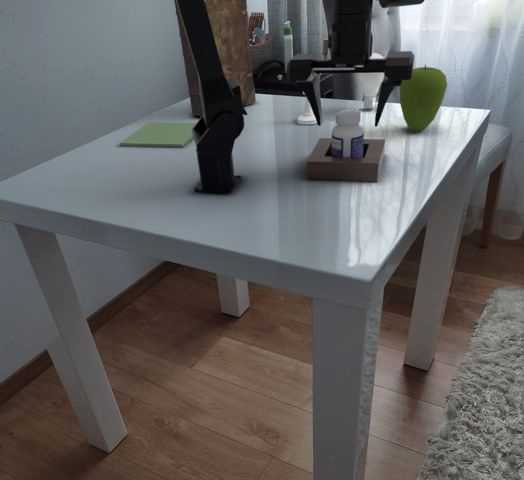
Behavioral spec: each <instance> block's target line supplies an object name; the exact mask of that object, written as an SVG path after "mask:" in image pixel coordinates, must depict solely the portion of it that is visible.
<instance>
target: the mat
mask: <svg viewBox="0 0 524 480" xmlns="http://www.w3.org/2000/svg"><path fill="white" fill-rule="evenodd" d="M196 123H197V122H153V121H152V122H147V123H146V124H144V125H143V126H142V127H140V128H139V129H137V130H136V131H134V132H133V133H132V134H130V135H129V136H127V137H126V138H124V139H123V140H122V141H120V142H119V146H121V147H153V148H157V147H158V148H184V147H185V146H186V145H187V144H188V143H189V142H190V141H191V140H192V139H194V137H193V134H192V129H193V127H194V126H195V125H196Z"/></svg>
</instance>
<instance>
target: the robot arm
mask: <svg viewBox="0 0 524 480" xmlns="http://www.w3.org/2000/svg"><path fill="white" fill-rule="evenodd" d="M375 1H378V4H379V6H380V7H381V9H389V8H390V9H391V8H398V7H399V8H400V7H408V6H417V5H421V4H423V3H424V2H425V1H426V0H375ZM176 2H177V6H178V9H179V12H180V16H181V19H182V23H183V26H184V29H185V33H186V36H187V39H188V43H189V46H190V50H191V53H192V56H193V60H194V63H195V67H196V70H197V73H198V81H199V91H200V100H201V107H202V116H200V118H199V119H198V120H197V122H195V123H196V125H195V126H194V127H193V129H192V134H193V140H194V143H195V147H196V149H195V152H196V160H197V167H198V173H199V179H200V181H199V182H198V183H197V184H196V185H195V187H194V188H193V192H195V193H211V194H232V193H233V192H234V190H235V189H236V187H237V186H238V185H239V184H240V182H241V181H242V180H243V176H242V175H237V174H236V175H235V167H234V157H233V150H234V145H235V141H236V140H237V139H238V138H239V137H240V136H241V134H242V132H243V130H244V129H245V117H244V116H248V112H247V110H246V109H245V107H244V106H243V105H242V99H241V89H240V86H239V84H238V83H237V81H236V80H235V79H234V78H231V79H230V80H228V81H227V79H226V77H225V75H224V72H223V69H222V65H221V62H220V58H219V54H218V50H217V46H216V43H215V39H214V35H213V31H212V28H211V24H210V20H209V16H208V12H207V9H206V5H205V1H204V0H176ZM331 7H332V8H331V25H330V26H329V28H328V35H327V49H328V50H329V51H330V52H331V54H330V55H331V57H330V59H320V58H319V53H317V52H316V53H313V52H312V53H310V52H309V53H296V54H295V55H294V56H293V57H291V59H290V60H289V61H288V62H287V64H286V81H289V82H295V87H296V88H301V90H302V93H303V92H304V93H305V94H304V95H305V98H306V97H307V99H308V101H309V103H310V106H311V108H312V112H313V114H314V116H315V119H316V121H317V123H316V124H317V126H318V127H321V126H322V123H323V110H322V109H323V108H322V99H321V98H322V97H321V74H357V73H384V78H383V81H382V83H381V84H380V88H379V89H380V90H379V95H378V100H377V104H376V105H377V106H376V110H375V116H374V127H375V128H376V127H378V125H379V122H380V121H381V117H382V114H383V112H384V109H385V106H386V104H387V102H388V100H389V98H390V96H391V95H392V92H393V91H394V89H395V88H396V87H400V86H401V85H402V82H403V80H409V79H411V78H412V73H413V69H414V67H415V66H414V65H415V54H414V53H413V51H412V50H407V51H406V50H405V51H404V50H402V51H401V50H400V51H388V52H387V55H386V57H384V58H383V59H369V58H370V57H371V56H372V53H373V47H374V46H373V45H374V44H373V43H374V37H373V35H374V34H373V32H372V22H373V7H374V0H332V5H331ZM340 65H341V66H340ZM342 65H343V66H342ZM357 66H363V67H357Z"/></svg>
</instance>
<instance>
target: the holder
mask: <svg viewBox="0 0 524 480" xmlns="http://www.w3.org/2000/svg"><path fill="white" fill-rule="evenodd" d="M331 145H332V137H319V138H318V140H317V142H316V144H315V146H314V147H313V149H312V151H311V153H310V155H309V156H308V158H307V160H306V180H313V181H314V180H319V181H340V182H341V181H344V182H365V183H367V182H369V183H378V181H379V177H380V173H381V169H382V165H383V161H384V157H385V149H386V138H385V139H384V138H364V142H363V158H361V157H331V147H332V146H331Z"/></svg>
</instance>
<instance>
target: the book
mask: <svg viewBox="0 0 524 480" xmlns="http://www.w3.org/2000/svg"><path fill="white" fill-rule="evenodd" d="M204 1H205V5H206V9H207V12H208V16H209V20H210V24H211V28H212V31H213V35H214V39H215V43H216V46H217V50H218V54H219V58H220V62H221V65H222V69H223V72H224V75H225V77H226V79H227V81H228V80H230V79H231V78H234V79H235V80H236V81H237V83H238V84H239V86H240V89H241V99H242V105H243V107H244V106H248V105H252V104H255V103H256V102H257V99H256V88H255V83H254V77H253V64H252V52H251V44H250V31H249V20H248V5H247V4H248V3H247V1H248V0H204ZM173 2H174V8H175V15H176V18H177V24H178V32H179V38H180V43H181V50H182V57H183V62H184V69H185V72H184V73H185V76H186V80H187V89H188V92H187V93H188V94H189V102H190V109H191V114H192V115H194V116H197V117H199V116H200V117H201V116H202V107H201V100H200V91H199V81H198V73H197V70H196V67H195V63H194V60H193V56H192V53H191V50H190V46H189V43H188V39H187V36H186V33H185V29H184V26H183V23H182V19H181V16H180V12H179V9H178V6H177V2H176V0H173Z"/></svg>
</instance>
